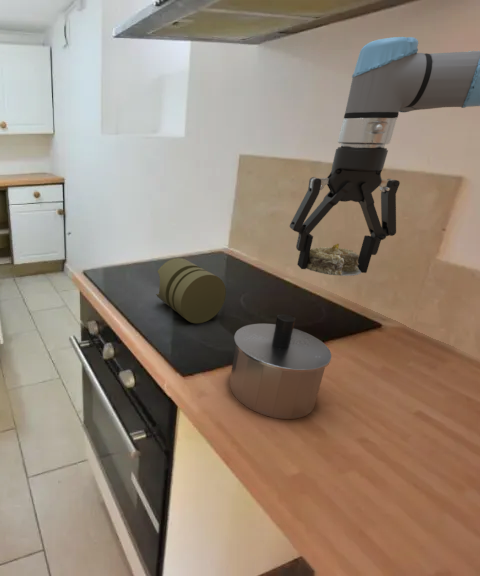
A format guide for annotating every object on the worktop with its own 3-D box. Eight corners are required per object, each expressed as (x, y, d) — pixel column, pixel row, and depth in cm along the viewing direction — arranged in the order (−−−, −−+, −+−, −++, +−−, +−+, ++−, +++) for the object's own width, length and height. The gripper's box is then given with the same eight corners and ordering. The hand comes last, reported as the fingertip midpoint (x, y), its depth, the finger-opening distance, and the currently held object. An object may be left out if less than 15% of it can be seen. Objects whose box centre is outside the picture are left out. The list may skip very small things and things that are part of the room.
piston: (192, 298, 95) (196, 255, 91) (222, 319, 85) (229, 271, 81) (152, 305, 92) (155, 260, 88) (178, 327, 81) (183, 278, 77)
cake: (292, 271, 74) (296, 244, 72) (313, 261, 80) (317, 236, 78) (350, 281, 67) (355, 251, 65) (368, 270, 73) (374, 242, 71)
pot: (299, 373, 66) (309, 330, 62) (326, 423, 54) (341, 374, 51) (225, 367, 68) (231, 324, 64) (236, 414, 56) (245, 365, 53)
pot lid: (311, 332, 63) (318, 302, 61) (345, 380, 51) (356, 344, 49) (227, 326, 65) (231, 296, 63) (241, 371, 53) (247, 336, 51)
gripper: (298, 146, 63) (274, 271, 72) (451, 147, 60) (406, 279, 68) (286, 144, 70) (265, 259, 79) (422, 146, 66) (385, 266, 75)
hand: (330, 268), depth 73 cm, fingers closed on cake, 10 cm apart
